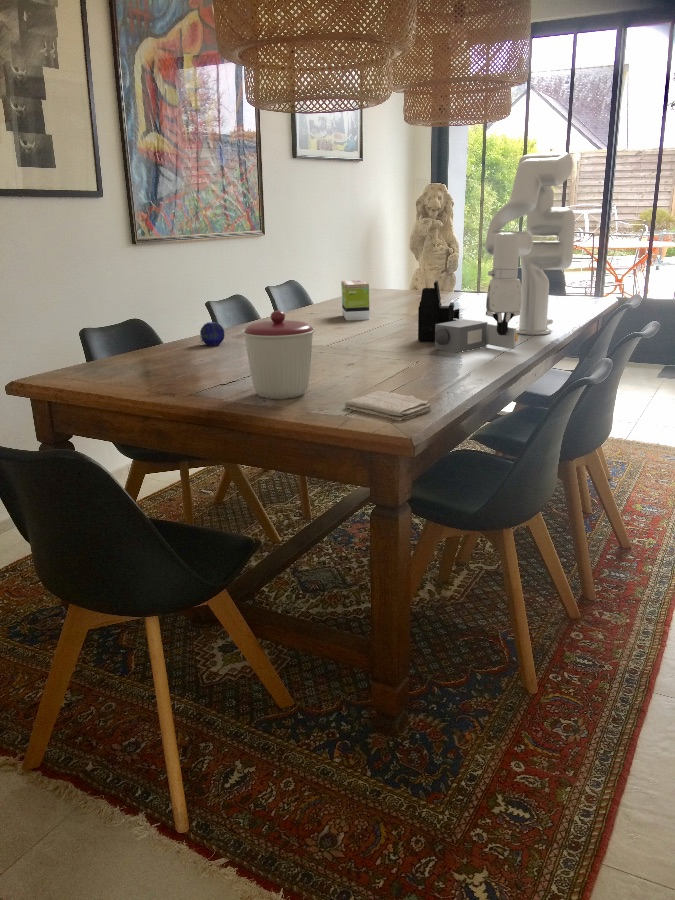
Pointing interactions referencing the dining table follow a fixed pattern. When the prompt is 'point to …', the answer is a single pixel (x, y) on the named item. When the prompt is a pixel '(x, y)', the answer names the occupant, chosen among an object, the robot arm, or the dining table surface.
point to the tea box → (355, 300)
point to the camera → (433, 313)
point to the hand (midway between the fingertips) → (501, 334)
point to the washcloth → (389, 405)
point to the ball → (211, 334)
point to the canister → (279, 356)
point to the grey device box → (460, 335)
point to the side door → (501, 337)
